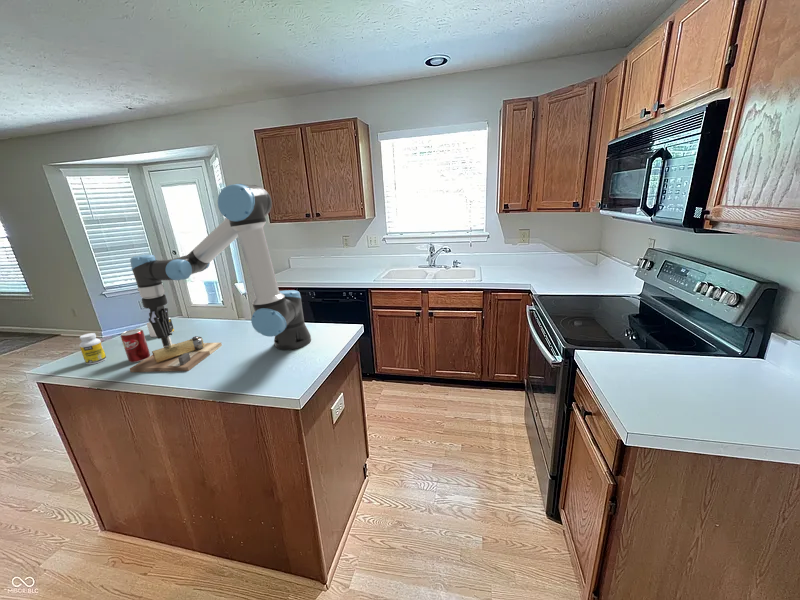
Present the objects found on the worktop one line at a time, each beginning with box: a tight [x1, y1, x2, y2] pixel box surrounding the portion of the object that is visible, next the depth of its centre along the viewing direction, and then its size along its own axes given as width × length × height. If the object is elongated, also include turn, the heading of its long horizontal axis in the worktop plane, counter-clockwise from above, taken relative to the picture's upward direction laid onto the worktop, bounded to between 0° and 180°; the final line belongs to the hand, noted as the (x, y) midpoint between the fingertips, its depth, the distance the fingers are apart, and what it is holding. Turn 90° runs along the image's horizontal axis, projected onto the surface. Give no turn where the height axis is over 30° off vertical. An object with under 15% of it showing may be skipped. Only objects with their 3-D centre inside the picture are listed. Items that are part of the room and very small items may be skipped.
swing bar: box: [151, 336, 205, 363], centre depth 134 cm, size 17×4×5 cm, turn 139°
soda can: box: [120, 328, 151, 364], centre depth 135 cm, size 7×7×12 cm
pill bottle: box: [79, 332, 107, 365], centre depth 135 cm, size 6×6×12 cm
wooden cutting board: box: [129, 342, 223, 373], centre depth 135 cm, size 23×22×4 cm
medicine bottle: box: [146, 312, 175, 338], centre depth 161 cm, size 7×7×12 cm
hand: (169, 351), depth 134 cm, fingers closed
